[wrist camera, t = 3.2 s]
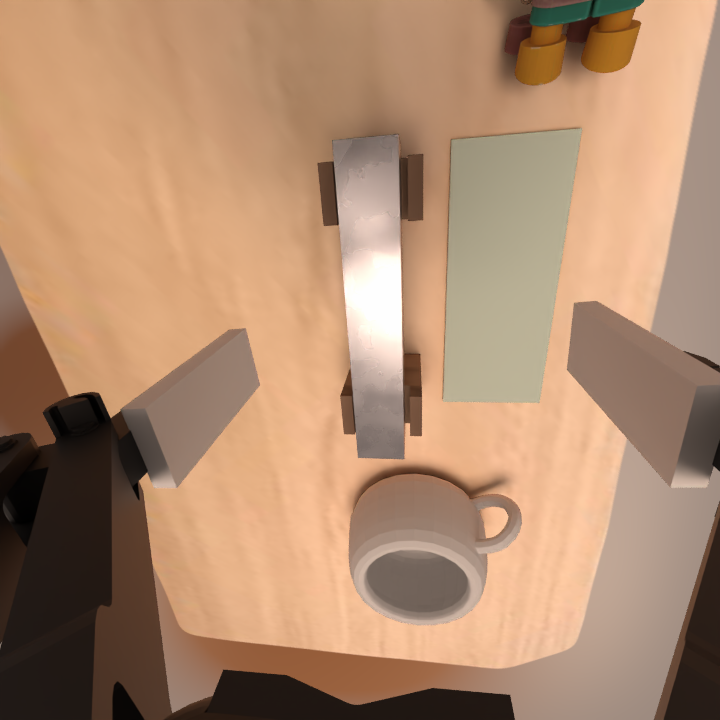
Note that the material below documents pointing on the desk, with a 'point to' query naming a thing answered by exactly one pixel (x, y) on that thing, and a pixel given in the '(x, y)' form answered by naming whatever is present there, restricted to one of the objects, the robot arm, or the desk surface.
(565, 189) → the mat
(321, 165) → the rack
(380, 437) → the rail
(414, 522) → the mug
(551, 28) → the binoculars
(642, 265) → the desk surface
